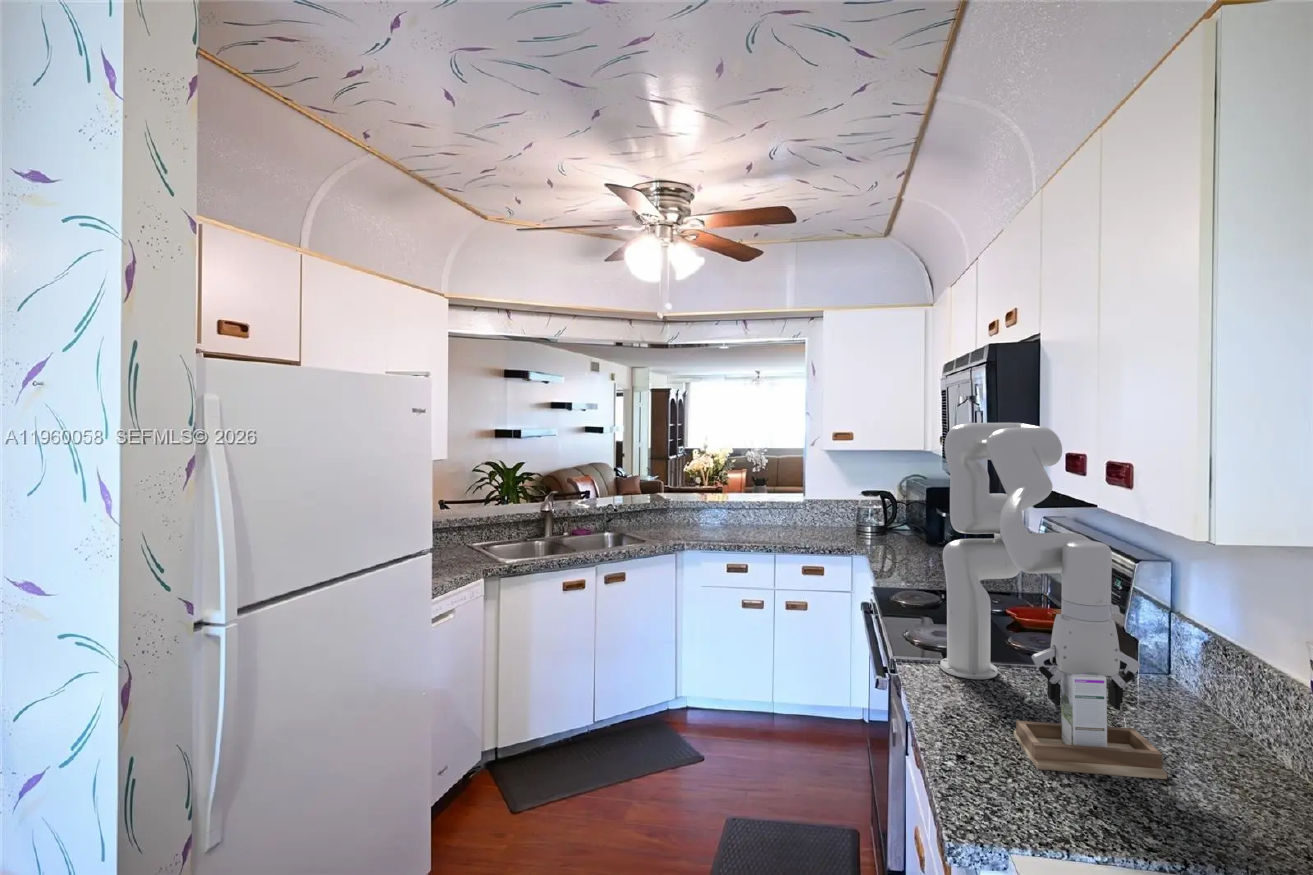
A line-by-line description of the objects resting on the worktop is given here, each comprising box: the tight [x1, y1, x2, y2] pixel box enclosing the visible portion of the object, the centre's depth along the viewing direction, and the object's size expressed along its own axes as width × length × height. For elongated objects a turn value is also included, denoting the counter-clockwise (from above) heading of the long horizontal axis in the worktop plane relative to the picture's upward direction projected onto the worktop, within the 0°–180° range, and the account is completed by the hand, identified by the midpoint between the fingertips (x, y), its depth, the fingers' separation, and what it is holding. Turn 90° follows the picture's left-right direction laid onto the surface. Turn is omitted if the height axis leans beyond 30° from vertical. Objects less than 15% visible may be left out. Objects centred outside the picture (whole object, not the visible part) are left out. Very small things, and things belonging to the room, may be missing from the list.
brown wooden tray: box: [1013, 720, 1168, 780], centre depth 125 cm, size 13×20×4 cm, turn 79°
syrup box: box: [1060, 674, 1108, 747], centre depth 125 cm, size 6×6×14 cm
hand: (1084, 704), depth 125 cm, fingers open, 9 cm apart
